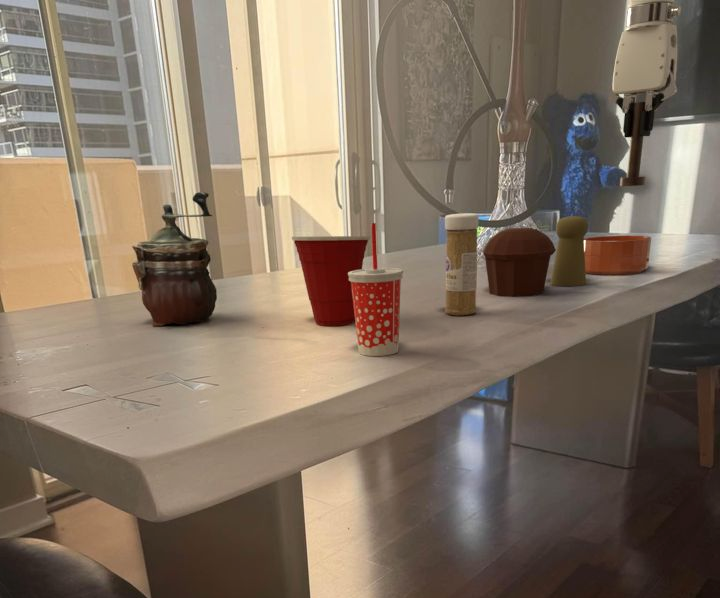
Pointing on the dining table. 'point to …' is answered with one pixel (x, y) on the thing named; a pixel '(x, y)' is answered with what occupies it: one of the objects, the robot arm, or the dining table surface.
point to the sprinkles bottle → (461, 263)
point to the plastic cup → (331, 275)
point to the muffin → (518, 262)
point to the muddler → (635, 150)
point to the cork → (570, 252)
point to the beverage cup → (376, 306)
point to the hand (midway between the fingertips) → (637, 135)
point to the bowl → (616, 254)
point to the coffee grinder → (176, 272)
